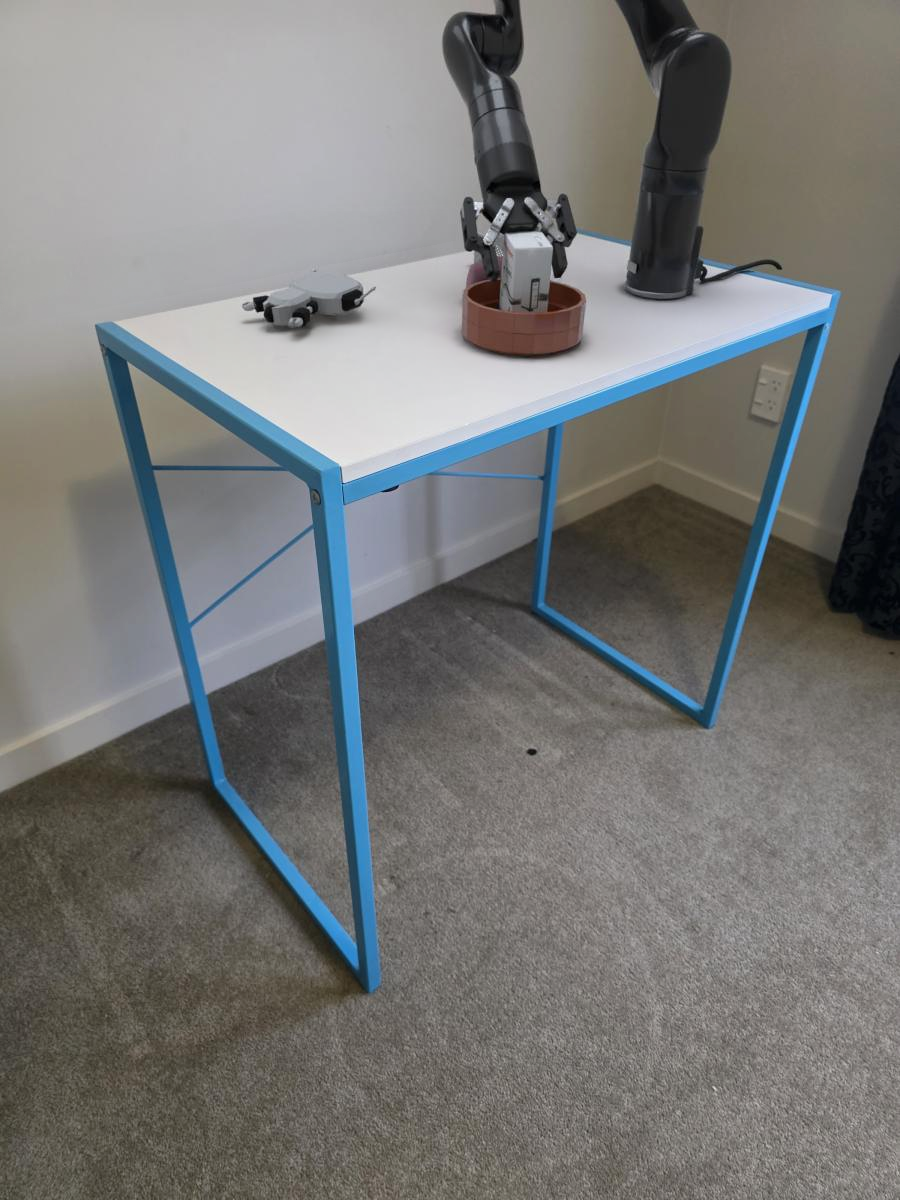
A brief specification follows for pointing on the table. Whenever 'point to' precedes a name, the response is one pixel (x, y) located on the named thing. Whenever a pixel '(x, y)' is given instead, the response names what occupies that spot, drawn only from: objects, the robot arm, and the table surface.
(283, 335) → the table surface
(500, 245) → the lattice window wall
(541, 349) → the bowl
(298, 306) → the robot toy
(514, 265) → the ink box
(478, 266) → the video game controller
